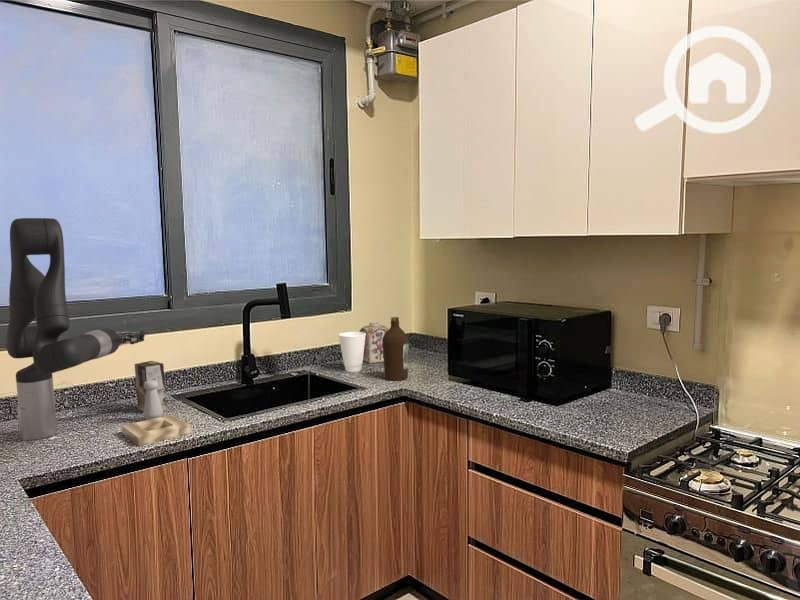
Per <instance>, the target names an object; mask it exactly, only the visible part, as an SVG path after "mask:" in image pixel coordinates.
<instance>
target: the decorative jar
mask: <svg viewBox="0 0 800 600" xmlns="http://www.w3.org/2000/svg"><path fill="white" fill-rule="evenodd" d="M389 329H390V328H389V327H388V326H387V325H381V324H380V322H379V321H372V322H369V325H365V326H362V327H361V329H359V331H358V332H363V333H366V335H365V345H364V354H363V362H366V363H368V364H377V363H384V356H383V344H382V340H383V336H384V334H385V333H386V332H387V331H388V330H389Z"/></svg>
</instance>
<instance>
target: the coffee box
mask: <svg viewBox="0 0 800 600" xmlns="http://www.w3.org/2000/svg"><path fill="white" fill-rule="evenodd" d="M164 369H165V368H164V363H162V362H158V361H154V360H148V361H143V362H140V363H139V362H138V363H134V373H135V374H134V375H135V386H136V399H137V409H138V410H139V411H142V412H144V404H145V396H146V389H144V383H145V382H146V381H149V380H156V381H157V382H158V387H157V392H158V395H159V399H160V403H161V406H162V410H163V411H166V410H167V401H166V400H167V398H166V397H167V396H166V383H165V370H164Z"/></svg>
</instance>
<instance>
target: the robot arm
mask: <svg viewBox="0 0 800 600" xmlns="http://www.w3.org/2000/svg"><path fill="white" fill-rule="evenodd" d="M64 242H65V241H64V234H63V229H62V226H61V224H60V222H59V221H58V220H57V219H55V218H49V217H48V218H47V217H45V218H44V217H42V218H41V217H21V218H15V219H14V220H12V221H11V224H10V228H9V245H10V246H9V247H10V249H9V250H10V263H11V265H10V279H9V280H10V281H9V292H8V293H9V297H8V298H9V299H8V303H9V317H8V318H9V319H8V324H7V325H8V326H7V332H6V337H5V338H6V341H5V342H6V345H5V346H6V350H7V353H8V355H9V356H10V357H11V359H12V358H13V359H26V358H27V359H28V358H32V359H33V363H31V364H30V365H28V366H25V367H24V368H21V369H19V370H18V371H16V373H15V382H16V394H17V416H18V417H17V419H18V427H19V436H20V438H21V439H22V441H23V442H25V441H35V440H41V439H46V438H49V437H52V436H54V435H56V434H58V423H57V412H56V401H55V399H56V398H55V391H54V390H55V389H54V380H53V379H54V378H53V374H54V373H58V372H61V371H64V370H68V369H70V368H75V367H77V366H79V365H81V364H84V363H87V362H90V361H92V360H98V359H100V358H101V359H102V358H104V357H107V356H109V355H111V354H114V353H116V351H118V349H119V347H121V346H123V345H129V344H130V345H135V344H138V343H141V342H144V341H145V334H146V333H145V331H144V330H139V331H138V330H137V331H134V332H131V331H129V330H128V331H116V330H114V329H113V328H109V327H102V328H98V329H95V330H91V331H87V332H85V333H84V334H79V335H77V336H73V337H69V338H65V339H61V340H59V339H58V338H59V337H60V336H62V334H64V333H65V332H67V331H68V330H69V329H70V327H71V322H70V321H71V320H70V315H69V309H68V304H67V297H66V296H67V295H66V272H65V271H66V268H65V267H66V266H65V247H64V245H65V243H64ZM44 255H45V256H46V255H49V267H48V269H47V271H46V273H45V275H44V274H43V272H41V270H39V269H38V268H37V267H36V266H35V265H34V264H33V263H32V262H31V261H30V259H29V258H28V256H44ZM34 320H35V324H36V325H30V324H31V323H32V322H33V321H34ZM28 325H29V326H28ZM58 340H59V341H58Z"/></svg>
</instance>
